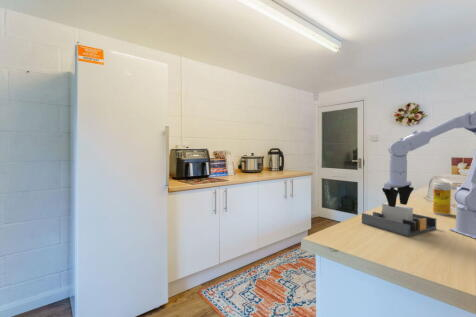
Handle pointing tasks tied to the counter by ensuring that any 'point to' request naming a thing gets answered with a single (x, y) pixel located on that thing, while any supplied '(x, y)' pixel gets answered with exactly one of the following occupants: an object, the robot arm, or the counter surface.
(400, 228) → the rack
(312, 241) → the counter surface
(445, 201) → the beer can
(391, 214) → the white rectangular block
